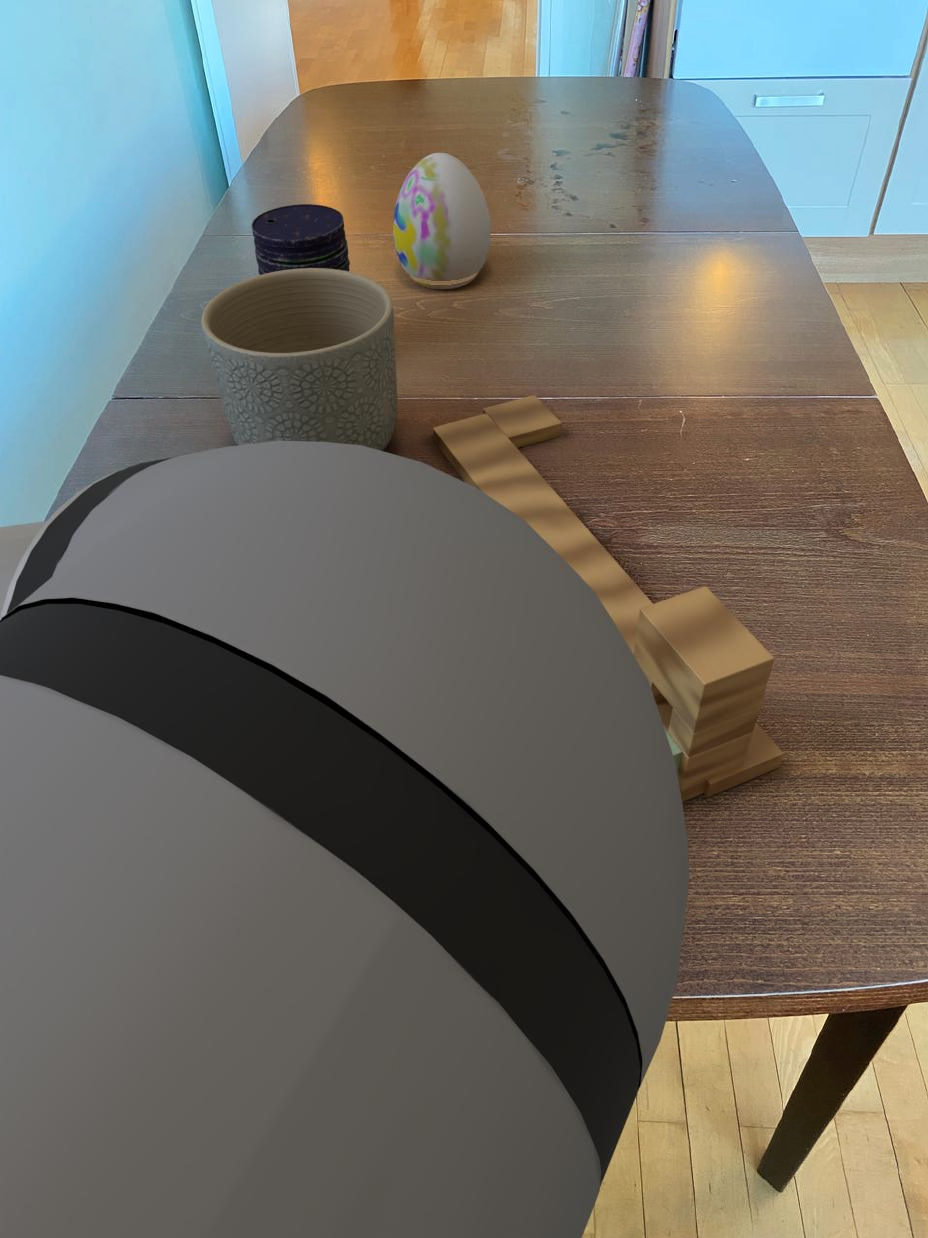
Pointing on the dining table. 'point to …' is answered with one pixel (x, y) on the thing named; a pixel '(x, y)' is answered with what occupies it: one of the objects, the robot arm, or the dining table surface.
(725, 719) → the wooden beam with block
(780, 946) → the dining table surface
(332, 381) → the planter
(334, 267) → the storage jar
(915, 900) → the dining table surface
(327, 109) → the dining table surface
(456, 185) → the decorative egg
